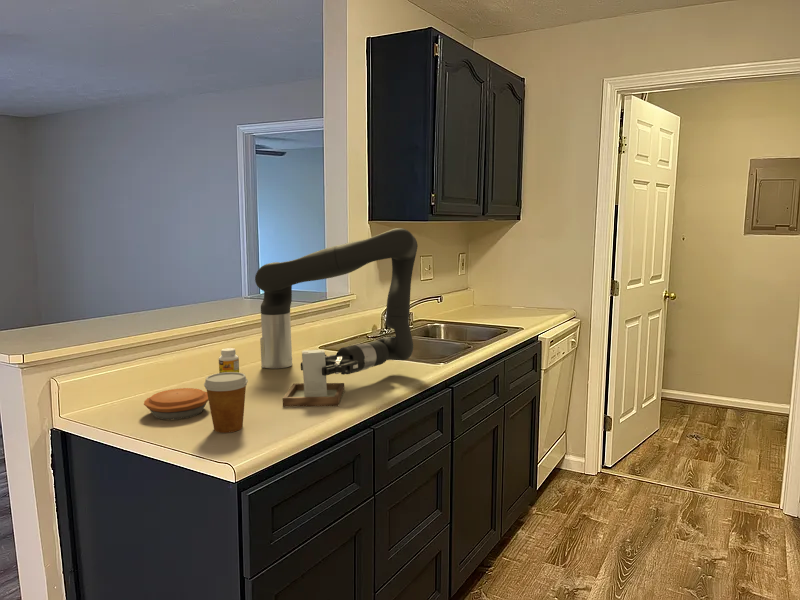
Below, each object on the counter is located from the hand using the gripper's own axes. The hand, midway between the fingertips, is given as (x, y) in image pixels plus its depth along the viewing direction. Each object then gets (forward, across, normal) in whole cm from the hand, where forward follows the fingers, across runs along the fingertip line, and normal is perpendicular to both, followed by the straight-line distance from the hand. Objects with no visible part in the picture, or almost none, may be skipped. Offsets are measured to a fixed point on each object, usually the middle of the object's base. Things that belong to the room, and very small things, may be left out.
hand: (311, 369), depth 162 cm
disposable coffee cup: (+27, +3, +8) cm, 29 cm away
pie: (+28, -17, +8) cm, 34 cm away
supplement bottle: (+5, -30, +8) cm, 32 cm away
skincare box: (-1, 0, +8) cm, 8 cm away
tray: (-1, 0, +8) cm, 8 cm away
